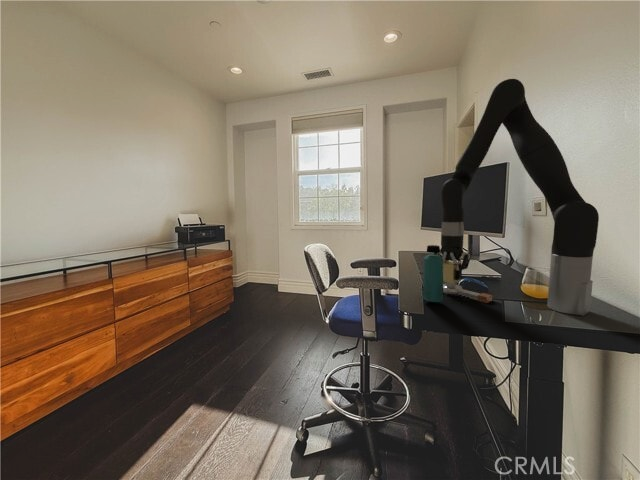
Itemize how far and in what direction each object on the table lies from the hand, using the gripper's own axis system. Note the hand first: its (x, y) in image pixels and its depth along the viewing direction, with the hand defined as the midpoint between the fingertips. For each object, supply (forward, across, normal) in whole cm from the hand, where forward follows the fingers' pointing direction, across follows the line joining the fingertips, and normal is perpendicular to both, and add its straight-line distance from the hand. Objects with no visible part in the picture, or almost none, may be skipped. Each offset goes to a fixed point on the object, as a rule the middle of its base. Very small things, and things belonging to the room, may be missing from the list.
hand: (450, 277), depth 103 cm
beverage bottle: (+6, -3, +16) cm, 17 cm away
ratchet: (+5, -5, 0) cm, 7 cm away
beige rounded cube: (+1, 0, 0) cm, 1 cm away
